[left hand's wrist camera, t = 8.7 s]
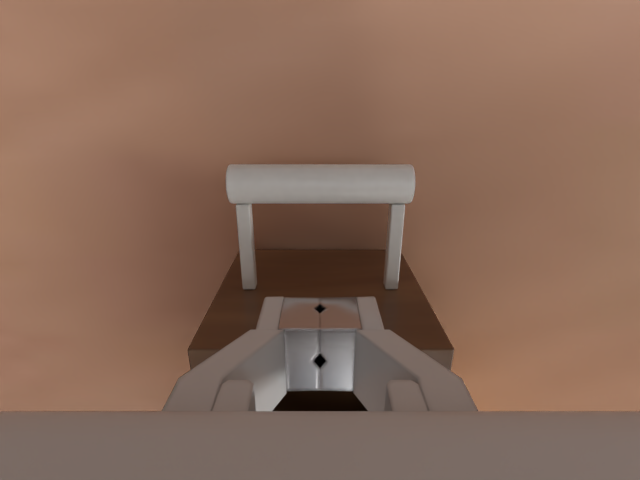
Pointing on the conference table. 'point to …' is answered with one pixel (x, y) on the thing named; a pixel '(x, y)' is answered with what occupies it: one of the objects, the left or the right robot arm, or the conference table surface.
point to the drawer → (320, 265)
